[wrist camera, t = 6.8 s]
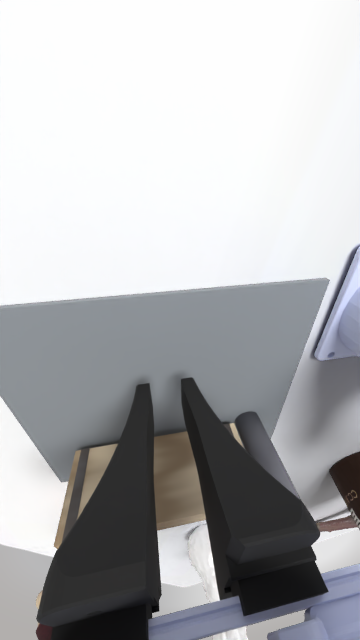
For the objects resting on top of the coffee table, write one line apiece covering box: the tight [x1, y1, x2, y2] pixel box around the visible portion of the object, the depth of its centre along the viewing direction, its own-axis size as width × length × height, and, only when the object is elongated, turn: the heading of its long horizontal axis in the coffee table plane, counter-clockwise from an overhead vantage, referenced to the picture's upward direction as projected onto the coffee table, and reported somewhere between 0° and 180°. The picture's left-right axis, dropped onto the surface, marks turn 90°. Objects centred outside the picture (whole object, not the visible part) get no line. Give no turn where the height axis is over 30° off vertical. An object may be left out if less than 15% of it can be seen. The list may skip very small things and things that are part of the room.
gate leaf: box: [54, 423, 244, 549], centre depth 15 cm, size 12×1×5 cm, turn 92°
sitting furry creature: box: [188, 524, 248, 640], centre depth 29 cm, size 10×9×12 cm
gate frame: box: [0, 278, 330, 500], centre depth 13 cm, size 19×17×7 cm
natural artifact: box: [316, 514, 358, 532], centre depth 39 cm, size 4×23×4 cm, turn 125°
